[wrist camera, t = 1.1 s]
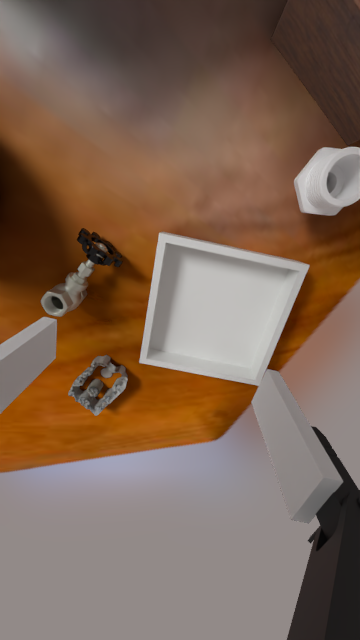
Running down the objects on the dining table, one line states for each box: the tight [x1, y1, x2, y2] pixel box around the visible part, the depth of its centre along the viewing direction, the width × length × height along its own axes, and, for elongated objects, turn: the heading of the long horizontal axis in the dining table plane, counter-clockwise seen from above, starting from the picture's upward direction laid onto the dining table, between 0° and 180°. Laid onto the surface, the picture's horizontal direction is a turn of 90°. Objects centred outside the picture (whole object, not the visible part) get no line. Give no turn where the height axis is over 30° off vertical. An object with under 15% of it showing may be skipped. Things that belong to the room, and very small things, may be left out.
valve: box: [40, 228, 123, 317], centre depth 33 cm, size 7×7×12 cm
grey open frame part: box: [68, 355, 128, 416], centre depth 42 cm, size 11×8×4 cm
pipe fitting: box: [294, 147, 360, 216], centre depth 27 cm, size 6×7×8 cm
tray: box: [139, 232, 310, 386], centre depth 35 cm, size 20×20×4 cm
